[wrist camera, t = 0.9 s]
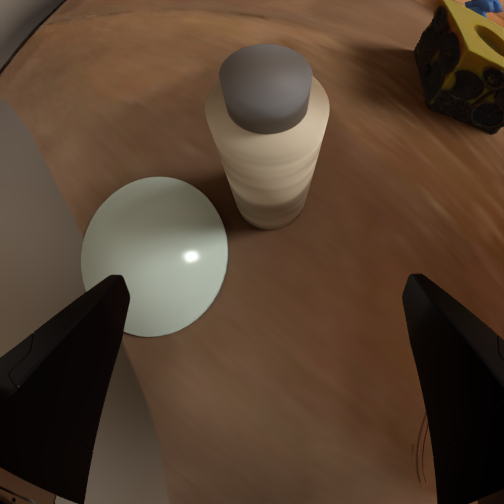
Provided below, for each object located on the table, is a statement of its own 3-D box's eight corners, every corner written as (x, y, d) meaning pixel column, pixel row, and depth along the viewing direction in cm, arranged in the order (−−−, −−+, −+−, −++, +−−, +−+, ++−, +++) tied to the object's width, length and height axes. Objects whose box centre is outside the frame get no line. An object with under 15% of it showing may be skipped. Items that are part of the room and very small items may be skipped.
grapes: (494, 46, 27) (522, 2, 15) (460, 25, 28) (485, -24, 16) (486, 19, 28) (508, -20, 16) (457, 1, 29) (475, -41, 17)
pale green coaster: (233, 334, 22) (231, 335, 21) (86, 333, 23) (81, 333, 22) (225, 171, 24) (224, 167, 24) (90, 191, 25) (86, 188, 24)
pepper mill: (308, 227, 23) (351, 124, 9) (237, 232, 24) (192, 134, 10) (300, 163, 24) (321, 31, 10) (234, 168, 25) (198, 39, 11)
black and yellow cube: (412, 50, 26) (437, -8, 17) (477, 76, 26) (509, 30, 16) (424, 109, 25) (465, 47, 15) (495, 137, 24) (542, 92, 14)
